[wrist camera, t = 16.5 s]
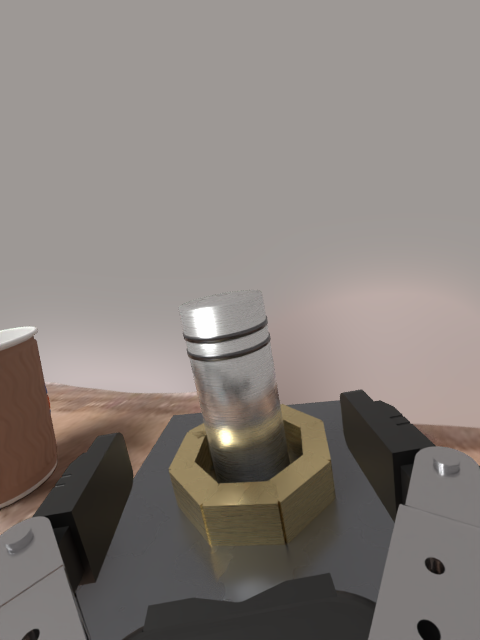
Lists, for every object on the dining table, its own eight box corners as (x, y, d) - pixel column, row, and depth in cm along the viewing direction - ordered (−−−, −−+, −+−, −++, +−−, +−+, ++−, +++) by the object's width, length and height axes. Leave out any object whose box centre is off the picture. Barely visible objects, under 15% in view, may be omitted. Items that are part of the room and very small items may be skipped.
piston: (210, 510, 19) (164, 315, 16) (225, 456, 24) (191, 298, 21) (293, 507, 18) (259, 301, 15) (291, 451, 23) (265, 286, 20)
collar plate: (38, 652, 14) (13, 594, 13) (175, 422, 31) (167, 392, 30) (496, 674, 11) (497, 601, 10) (366, 406, 28) (363, 371, 27)
